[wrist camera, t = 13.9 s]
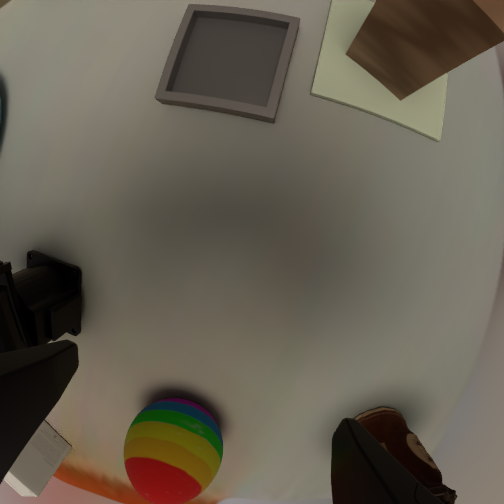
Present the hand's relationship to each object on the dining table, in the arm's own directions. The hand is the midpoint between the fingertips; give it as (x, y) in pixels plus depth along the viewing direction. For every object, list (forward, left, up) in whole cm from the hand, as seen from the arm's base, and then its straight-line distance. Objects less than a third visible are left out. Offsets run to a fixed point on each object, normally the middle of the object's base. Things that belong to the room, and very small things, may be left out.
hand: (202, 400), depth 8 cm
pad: (+6, +18, -13) cm, 23 cm away
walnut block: (+6, +18, -13) cm, 23 cm away
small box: (-21, -31, -13) cm, 40 cm away
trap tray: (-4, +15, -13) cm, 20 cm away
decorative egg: (-2, -15, -13) cm, 20 cm away
